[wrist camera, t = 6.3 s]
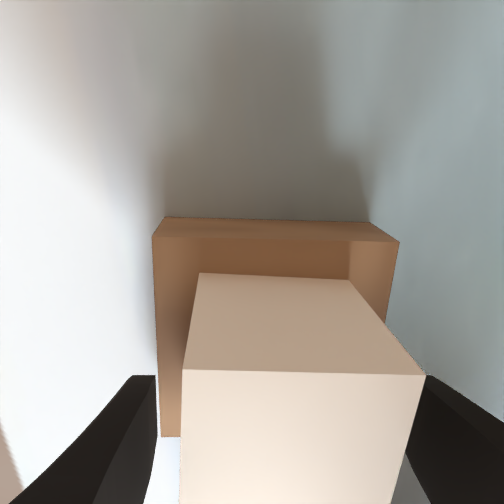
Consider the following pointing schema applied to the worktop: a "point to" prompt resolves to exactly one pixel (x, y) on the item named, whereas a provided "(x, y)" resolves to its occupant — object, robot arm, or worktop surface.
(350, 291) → the cube
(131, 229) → the worktop surface
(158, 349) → the base block
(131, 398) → the robot arm
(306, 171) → the worktop surface
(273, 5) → the worktop surface
